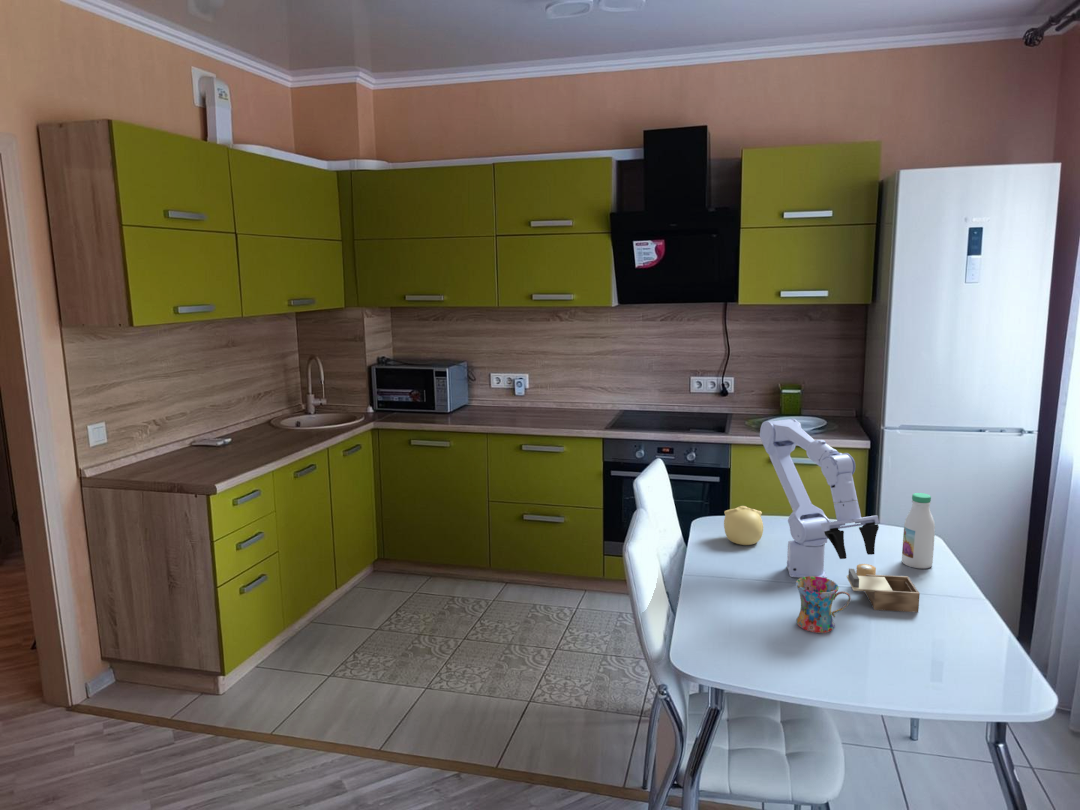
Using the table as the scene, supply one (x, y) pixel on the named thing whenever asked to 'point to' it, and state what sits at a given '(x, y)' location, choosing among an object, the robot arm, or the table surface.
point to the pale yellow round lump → (743, 525)
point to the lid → (867, 582)
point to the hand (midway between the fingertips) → (857, 556)
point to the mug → (817, 603)
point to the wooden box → (895, 595)
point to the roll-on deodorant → (865, 570)
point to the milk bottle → (919, 533)
